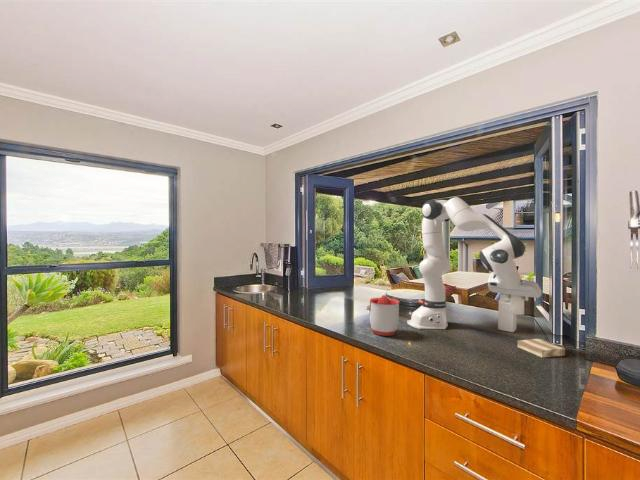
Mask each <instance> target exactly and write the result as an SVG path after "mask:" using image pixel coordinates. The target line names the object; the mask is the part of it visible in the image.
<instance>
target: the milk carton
mask: <svg viewBox="0 0 640 480" xmlns="http://www.w3.org/2000/svg"><path fill="white" fill-rule="evenodd" d="M499 294H500V297H499V300H498V311H497V312H498V316H497V317H498V318H497V319H498V321H497V330H500V331H504V332H509V333H514V332H516V330H517V321H518V320H517V317H518V315H516V314H512V313H511V299H510V298H507V296H505V295H504V294H503V293H499Z"/></svg>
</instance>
